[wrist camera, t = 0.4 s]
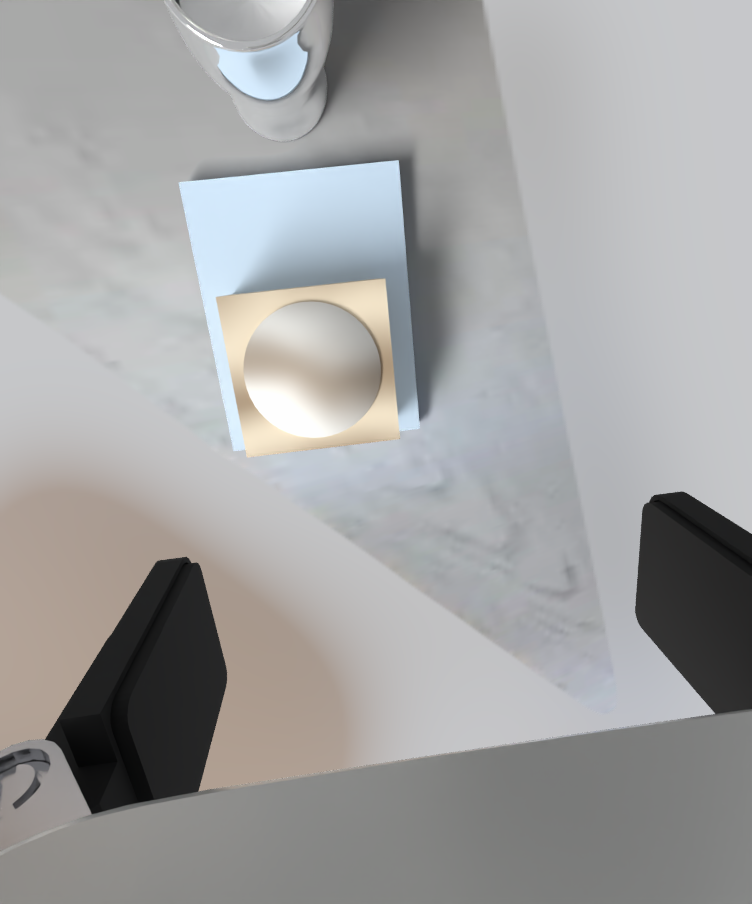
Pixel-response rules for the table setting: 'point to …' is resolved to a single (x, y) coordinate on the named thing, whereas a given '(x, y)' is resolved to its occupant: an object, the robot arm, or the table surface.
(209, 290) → the blueprint board
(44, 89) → the table surface
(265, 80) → the beer glass
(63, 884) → the robot arm
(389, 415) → the plinth
